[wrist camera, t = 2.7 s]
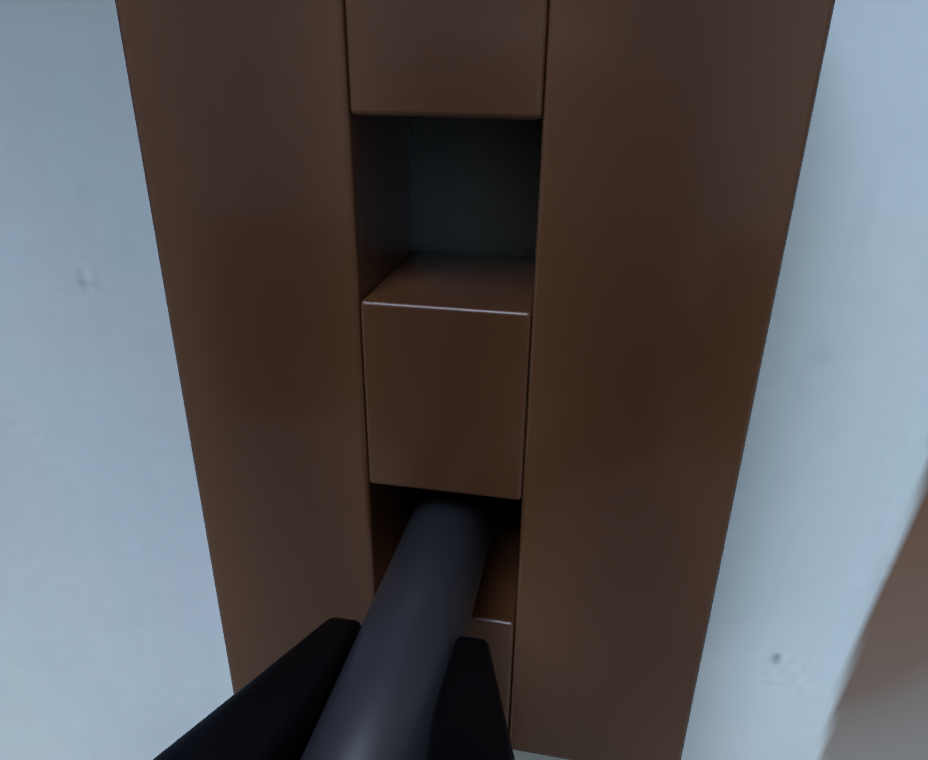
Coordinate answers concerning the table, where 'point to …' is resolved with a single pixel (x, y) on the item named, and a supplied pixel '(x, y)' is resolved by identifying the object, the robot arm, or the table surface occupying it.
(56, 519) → the table surface
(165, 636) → the table surface
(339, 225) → the pen stand
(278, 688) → the robot arm
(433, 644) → the stylus
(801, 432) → the table surface
